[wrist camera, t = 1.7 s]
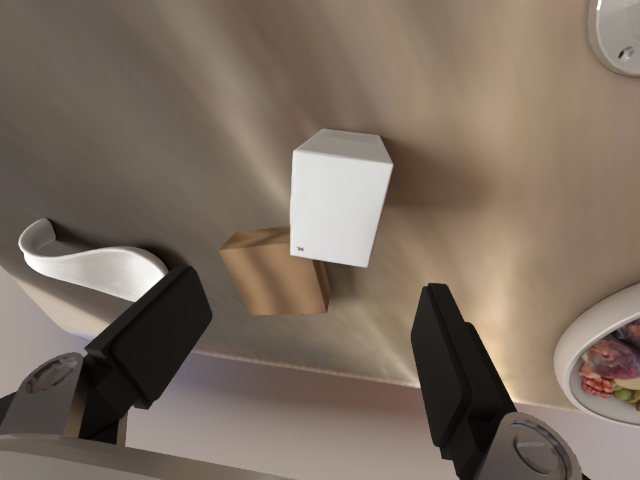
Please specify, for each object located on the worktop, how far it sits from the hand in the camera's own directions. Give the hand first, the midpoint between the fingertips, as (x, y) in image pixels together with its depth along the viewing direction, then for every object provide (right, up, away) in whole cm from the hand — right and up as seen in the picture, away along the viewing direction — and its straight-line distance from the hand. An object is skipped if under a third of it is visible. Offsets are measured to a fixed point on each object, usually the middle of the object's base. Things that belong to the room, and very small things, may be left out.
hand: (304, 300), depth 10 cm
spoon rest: (-35, 0, +31) cm, 47 cm away
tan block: (-5, -1, +26) cm, 27 cm away
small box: (+4, +11, +17) cm, 21 cm away
